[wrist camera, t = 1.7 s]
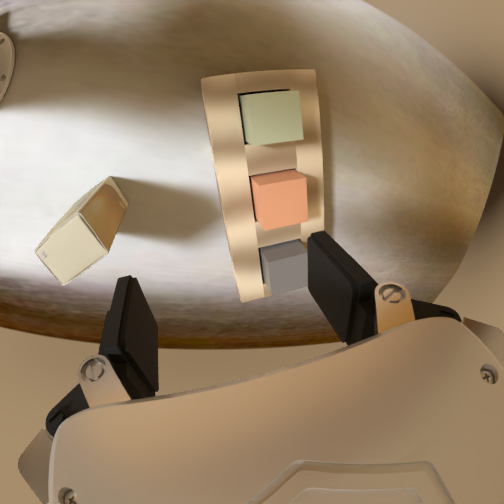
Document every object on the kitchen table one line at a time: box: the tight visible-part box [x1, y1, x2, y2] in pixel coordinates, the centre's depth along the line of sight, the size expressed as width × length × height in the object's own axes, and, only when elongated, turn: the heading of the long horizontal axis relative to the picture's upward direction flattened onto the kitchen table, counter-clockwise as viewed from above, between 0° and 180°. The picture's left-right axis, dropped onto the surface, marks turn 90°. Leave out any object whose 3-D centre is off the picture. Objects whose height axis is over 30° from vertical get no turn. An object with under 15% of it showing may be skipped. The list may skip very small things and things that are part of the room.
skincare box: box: [34, 176, 129, 285], centre depth 24 cm, size 6×4×12 cm
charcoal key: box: [259, 239, 308, 296], centre depth 35 cm, size 5×5×4 cm
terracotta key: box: [250, 169, 308, 231], centre depth 30 cm, size 5×5×4 cm
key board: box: [200, 69, 324, 303], centre depth 32 cm, size 28×12×3 cm, turn 7°
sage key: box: [239, 91, 304, 146], centre depth 25 cm, size 5×5×4 cm
